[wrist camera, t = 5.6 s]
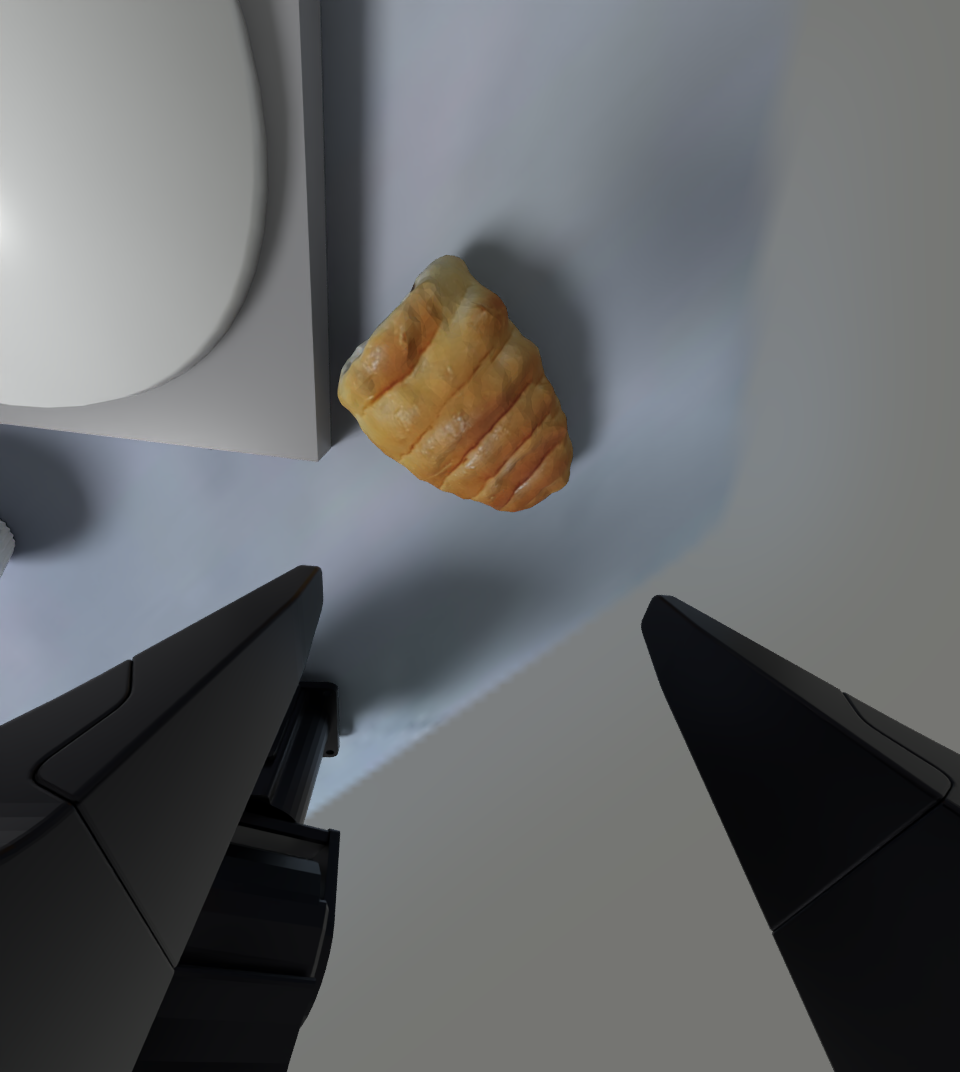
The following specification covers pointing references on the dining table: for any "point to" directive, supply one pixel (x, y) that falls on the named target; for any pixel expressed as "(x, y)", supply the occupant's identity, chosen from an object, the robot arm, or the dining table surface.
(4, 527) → the garlic bulb
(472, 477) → the pastry
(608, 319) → the dining table surface
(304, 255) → the scale
